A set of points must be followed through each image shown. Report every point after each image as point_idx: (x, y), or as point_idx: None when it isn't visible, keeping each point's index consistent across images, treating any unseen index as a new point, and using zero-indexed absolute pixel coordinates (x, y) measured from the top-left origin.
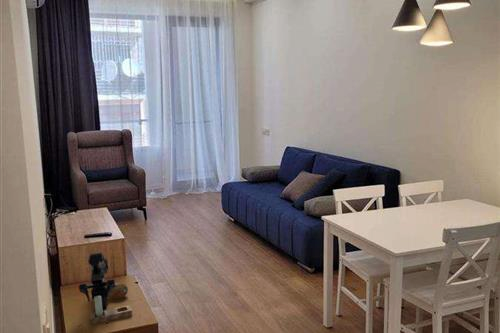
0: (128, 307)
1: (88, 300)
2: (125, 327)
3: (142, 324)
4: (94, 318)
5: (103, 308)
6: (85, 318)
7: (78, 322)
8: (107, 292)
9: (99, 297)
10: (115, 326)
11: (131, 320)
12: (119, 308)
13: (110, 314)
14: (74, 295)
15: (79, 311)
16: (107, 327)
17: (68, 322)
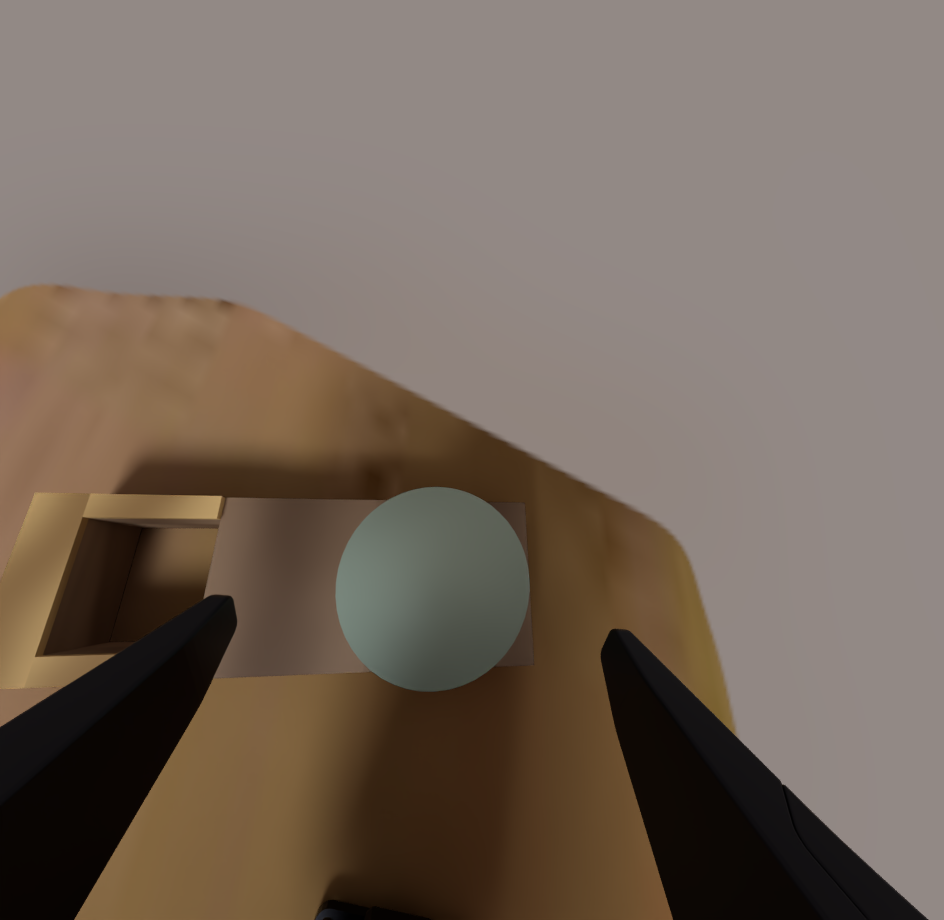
0: (29, 599)
1: (640, 645)
2: (250, 323)
3: (103, 299)
4: (488, 503)
5: (354, 914)
6: (571, 697)
7: (629, 626)
8: (32, 736)
9: (391, 521)
10: (320, 378)
11: (155, 413)
12: None
13: (311, 517)
14: None
15: None
16: (385, 394)
17: (723, 678)
